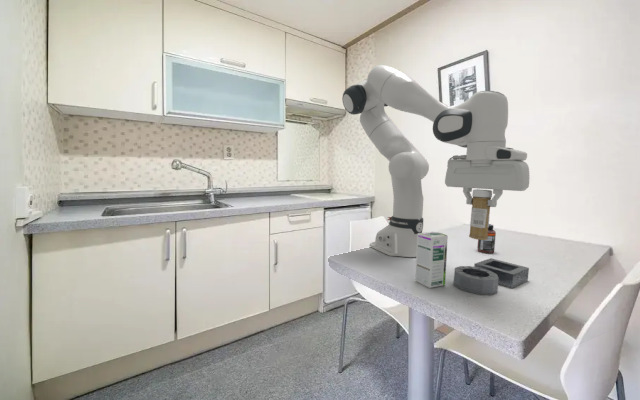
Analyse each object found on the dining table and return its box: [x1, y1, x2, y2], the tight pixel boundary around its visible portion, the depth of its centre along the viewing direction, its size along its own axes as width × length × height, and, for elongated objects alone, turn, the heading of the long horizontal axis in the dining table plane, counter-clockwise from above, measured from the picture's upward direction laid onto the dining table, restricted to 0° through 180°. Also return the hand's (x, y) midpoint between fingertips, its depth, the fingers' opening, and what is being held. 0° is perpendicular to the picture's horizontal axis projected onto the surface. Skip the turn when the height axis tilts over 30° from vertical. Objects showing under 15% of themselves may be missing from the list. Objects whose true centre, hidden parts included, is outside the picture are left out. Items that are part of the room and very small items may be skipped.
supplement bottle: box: [476, 223, 497, 254], centre depth 111 cm, size 6×6×11 cm
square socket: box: [473, 258, 530, 289], centre depth 83 cm, size 10×10×4 cm
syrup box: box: [415, 231, 449, 289], centre depth 78 cm, size 6×6×14 cm
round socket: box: [453, 265, 499, 296], centre depth 76 cm, size 10×10×4 cm
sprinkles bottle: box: [468, 188, 493, 241], centre depth 75 cm, size 5×5×13 cm
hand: (480, 205), depth 74 cm, fingers closed on sprinkles bottle, 4 cm apart
